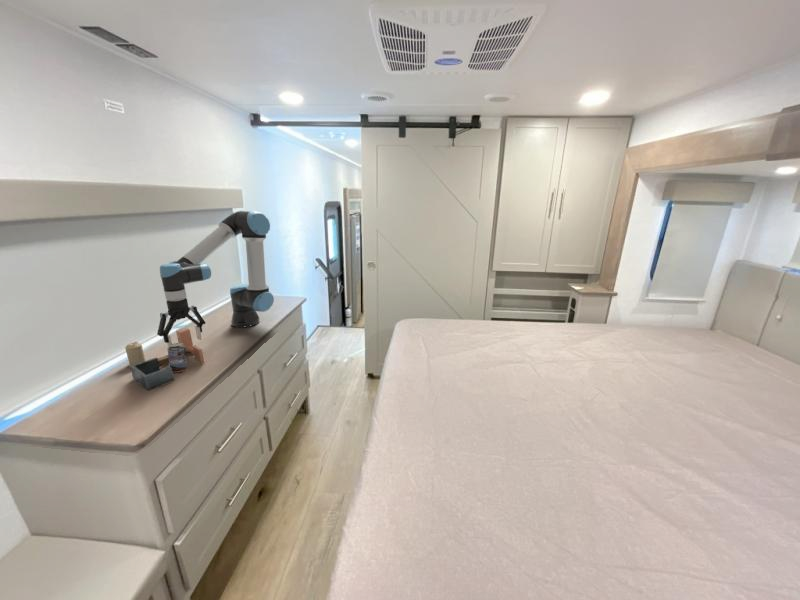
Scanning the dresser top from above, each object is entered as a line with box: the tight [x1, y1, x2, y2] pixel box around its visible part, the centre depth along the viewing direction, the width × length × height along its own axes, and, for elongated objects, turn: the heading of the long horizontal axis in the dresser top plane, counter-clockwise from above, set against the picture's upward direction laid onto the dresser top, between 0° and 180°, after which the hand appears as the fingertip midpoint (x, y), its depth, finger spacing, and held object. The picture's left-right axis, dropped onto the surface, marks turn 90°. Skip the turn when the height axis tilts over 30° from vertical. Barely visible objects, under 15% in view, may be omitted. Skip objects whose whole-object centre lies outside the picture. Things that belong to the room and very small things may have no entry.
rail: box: [157, 351, 194, 368], centre depth 140 cm, size 16×3×3 cm, turn 147°
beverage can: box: [167, 342, 188, 373], centre depth 132 cm, size 6×7×12 cm
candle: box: [125, 341, 147, 367], centre depth 136 cm, size 6×6×10 cm
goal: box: [129, 357, 175, 391], centre depth 125 cm, size 9×14×6 cm, turn 57°
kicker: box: [175, 327, 205, 365], centre depth 140 cm, size 4×16×12 cm, turn 57°
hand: (185, 343), depth 144 cm, fingers open, 11 cm apart
